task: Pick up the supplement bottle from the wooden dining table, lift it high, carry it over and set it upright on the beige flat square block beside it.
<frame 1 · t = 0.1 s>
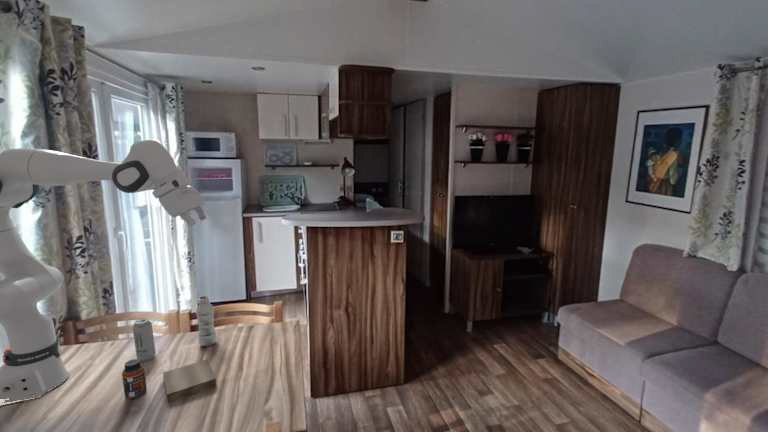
hand: (199, 222, 122), 54 cm above the table, tool tilted 30°, fingers open, 8 cm apart
plastic bottle: (208, 344, 151), on the table
beige flat square block: (189, 383, 126), on the table
energy drink can: (146, 358, 141), on the table
supplement bottle: (136, 394, 120), on the table
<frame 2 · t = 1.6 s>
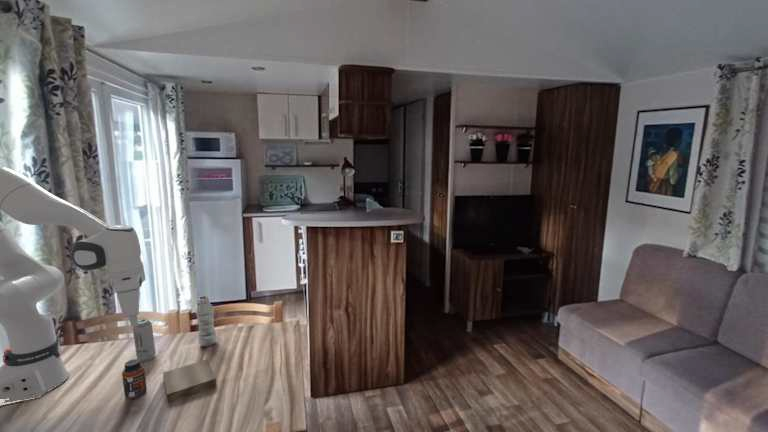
hand: (135, 319, 116), 26 cm above the table, tool pointing down, fingers open, 8 cm apart
nothing on the table moved.
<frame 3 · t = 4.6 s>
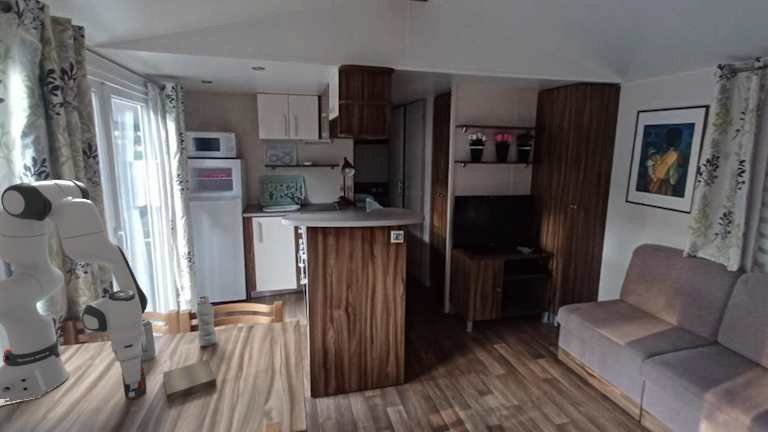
hand: (134, 381, 120), 5 cm above the table, tool pointing down, fingers closed on supplement bottle, 6 cm apart
supplement bottle: (136, 394, 120), on the table, touching gripper
everything else where it was.
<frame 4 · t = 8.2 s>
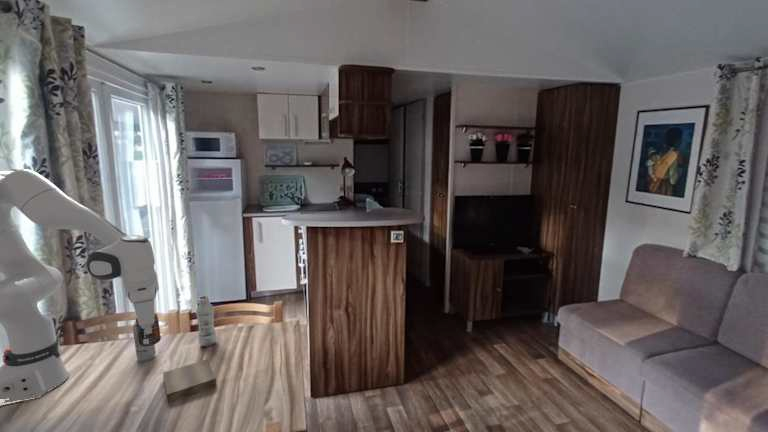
hand: (148, 328, 118), 22 cm above the table, tool pointing down, fingers closed on supplement bottle, 6 cm apart
supplement bottle: (150, 343, 119), point 17 cm above the table, touching gripper
everything else where it was.
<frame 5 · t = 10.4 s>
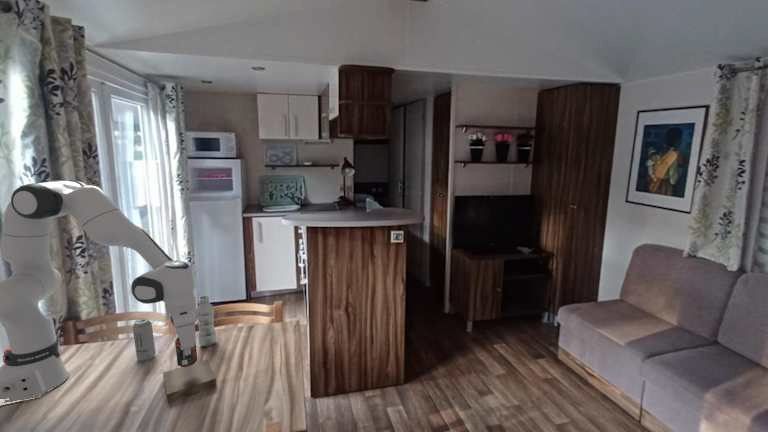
hand: (186, 349, 123), 13 cm above the table, tool pointing down, fingers closed on supplement bottle, 6 cm apart
supplement bottle: (187, 363, 124), point 7 cm above the table, touching gripper
everything else where it was.
when the fingers open (9 cm above the table, at t = 12.0 s): supplement bottle stays where it is, resting on beige flat square block.
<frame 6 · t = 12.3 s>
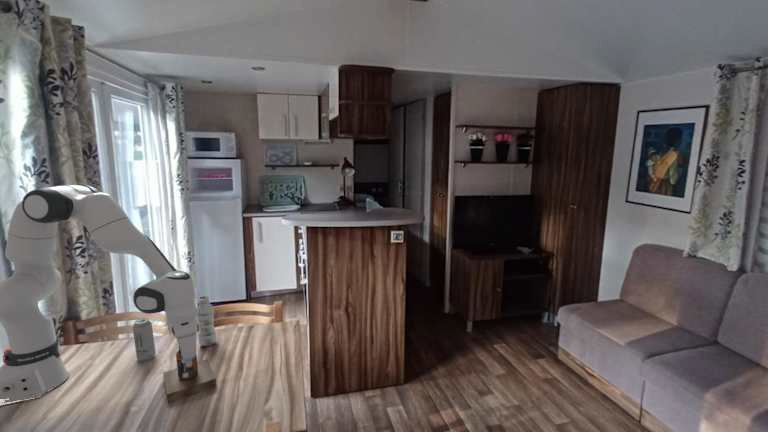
hand: (186, 359, 124), 9 cm above the table, tool pointing down, fingers open, 8 cm apart
supplement bottle: (188, 375, 125), point 3 cm above the table, touching beige flat square block
everything else where it was.
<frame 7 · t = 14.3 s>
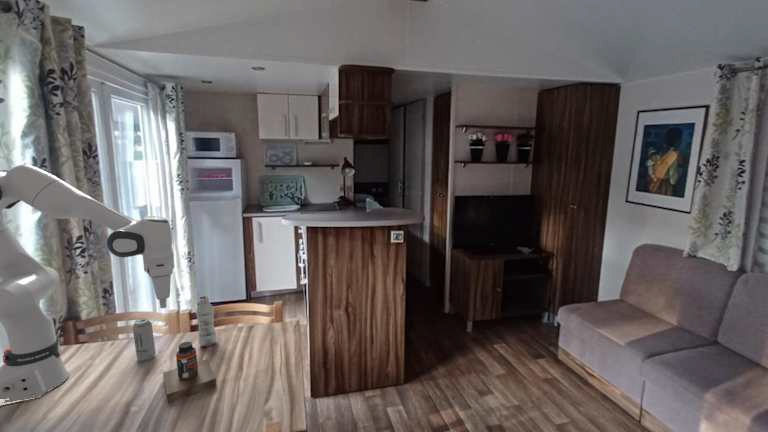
hand: (162, 302, 129), 26 cm above the table, tool pointing down, fingers open, 8 cm apart
nothing on the table moved.
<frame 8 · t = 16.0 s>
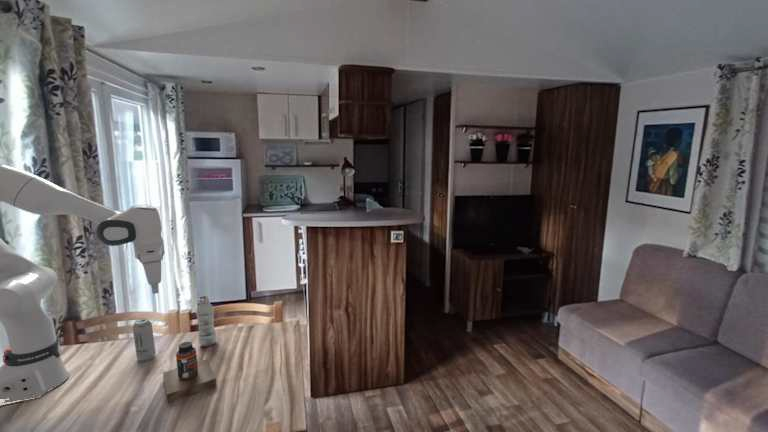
hand: (154, 288, 132), 29 cm above the table, tool pointing down, fingers open, 8 cm apart
nothing on the table moved.
at the end: supplement bottle inside the target area on the beige flat square block (0.1 cm from its centre), point 2.8 cm above the beige flat square block's base; supplement bottle tilted 0°; the gripper is holding nothing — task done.
